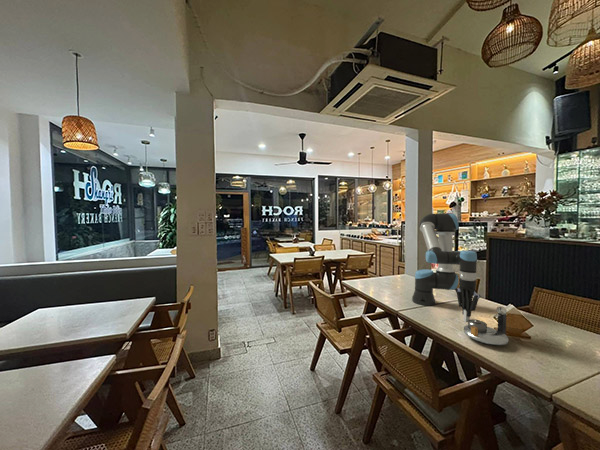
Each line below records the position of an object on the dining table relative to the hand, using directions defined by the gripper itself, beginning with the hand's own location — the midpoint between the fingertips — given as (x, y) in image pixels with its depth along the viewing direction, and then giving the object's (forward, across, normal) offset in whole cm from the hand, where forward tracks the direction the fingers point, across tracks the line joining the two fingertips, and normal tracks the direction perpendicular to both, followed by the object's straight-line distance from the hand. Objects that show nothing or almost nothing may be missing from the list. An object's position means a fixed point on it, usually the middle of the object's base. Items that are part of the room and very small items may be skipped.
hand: (466, 321), depth 130 cm
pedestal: (+5, +10, 0) cm, 11 cm away
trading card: (+6, -5, +2) cm, 8 cm away
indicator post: (+5, +10, +10) cm, 15 cm away
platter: (+3, +10, 0) cm, 10 cm away
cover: (+2, +6, 0) cm, 6 cm away
